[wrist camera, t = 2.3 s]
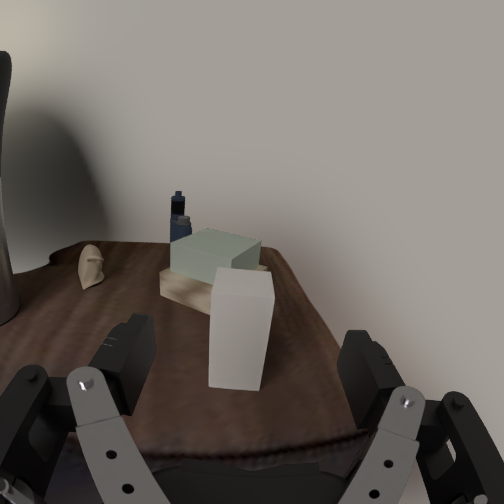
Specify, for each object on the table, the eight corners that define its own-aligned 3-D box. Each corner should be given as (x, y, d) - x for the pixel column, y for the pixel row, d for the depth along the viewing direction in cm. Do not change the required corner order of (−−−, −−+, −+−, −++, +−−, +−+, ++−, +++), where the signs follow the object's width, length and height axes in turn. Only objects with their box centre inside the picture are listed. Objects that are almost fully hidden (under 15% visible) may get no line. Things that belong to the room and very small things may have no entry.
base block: (160, 298, 39) (159, 272, 37) (203, 272, 48) (204, 249, 47) (229, 325, 35) (231, 297, 33) (264, 291, 44) (267, 267, 43)
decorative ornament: (100, 267, 44) (97, 237, 42) (109, 289, 38) (105, 255, 36) (78, 271, 41) (74, 240, 40) (83, 294, 35) (78, 259, 34)
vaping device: (180, 254, 53) (182, 190, 49) (193, 264, 49) (196, 195, 45) (167, 256, 52) (168, 190, 47) (179, 267, 48) (181, 195, 44)
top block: (170, 271, 38) (170, 242, 37) (206, 252, 46) (207, 228, 44) (229, 290, 35) (231, 259, 33) (258, 266, 43) (261, 240, 41)
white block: (208, 386, 24) (211, 292, 21) (213, 355, 28) (217, 267, 25) (259, 390, 24) (274, 298, 21) (258, 358, 29) (270, 271, 25)
